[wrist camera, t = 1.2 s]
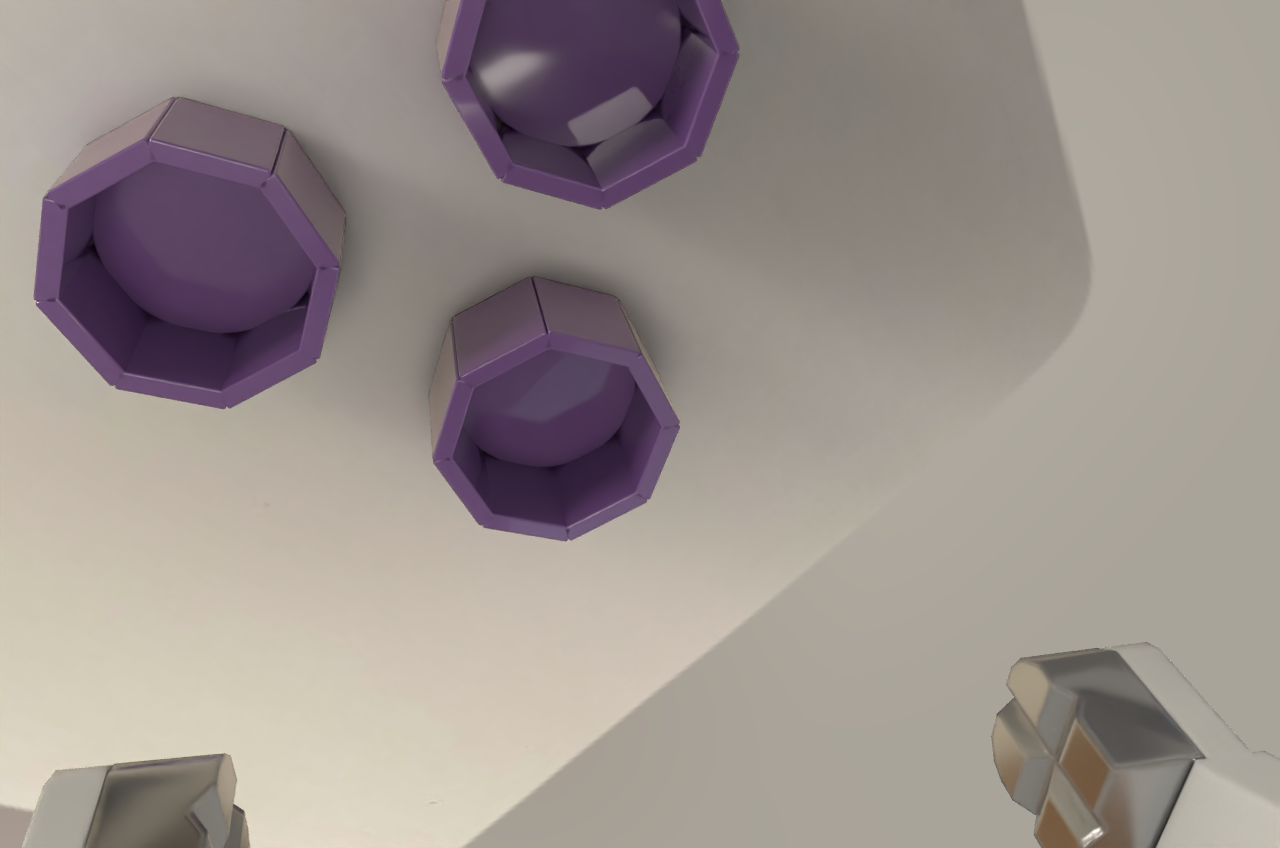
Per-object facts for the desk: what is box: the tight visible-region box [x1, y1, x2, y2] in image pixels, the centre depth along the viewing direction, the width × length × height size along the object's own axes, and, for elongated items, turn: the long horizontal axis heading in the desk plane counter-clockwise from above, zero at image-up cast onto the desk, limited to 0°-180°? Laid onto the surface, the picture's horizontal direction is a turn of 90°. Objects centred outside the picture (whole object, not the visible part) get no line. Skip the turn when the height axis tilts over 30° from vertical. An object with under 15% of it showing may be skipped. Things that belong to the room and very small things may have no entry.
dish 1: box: [34, 97, 346, 409], centre depth 24 cm, size 6×6×3 cm
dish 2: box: [436, 0, 739, 209], centre depth 24 cm, size 6×6×3 cm
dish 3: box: [429, 277, 680, 541], centre depth 28 cm, size 6×6×3 cm
